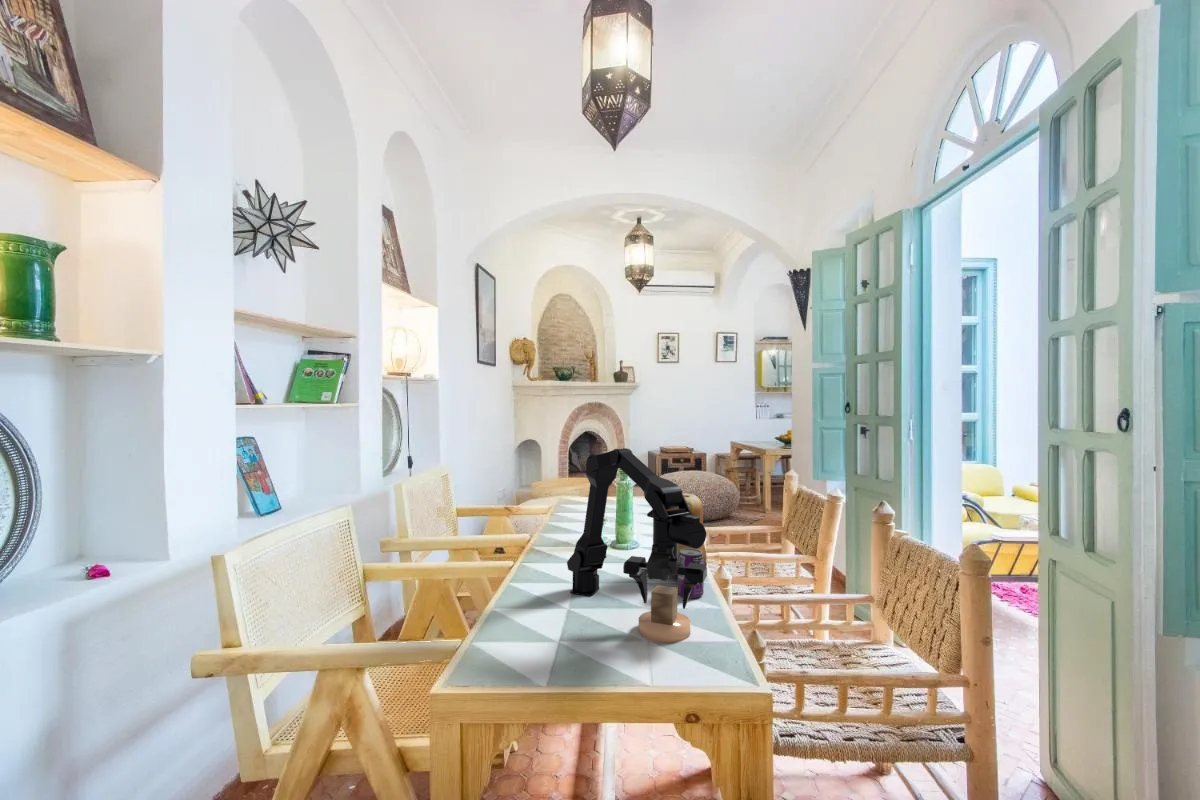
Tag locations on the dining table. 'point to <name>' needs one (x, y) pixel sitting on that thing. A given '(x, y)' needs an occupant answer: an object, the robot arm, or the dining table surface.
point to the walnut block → (664, 605)
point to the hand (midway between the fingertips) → (664, 605)
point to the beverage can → (684, 560)
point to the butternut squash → (697, 511)
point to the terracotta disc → (664, 629)
